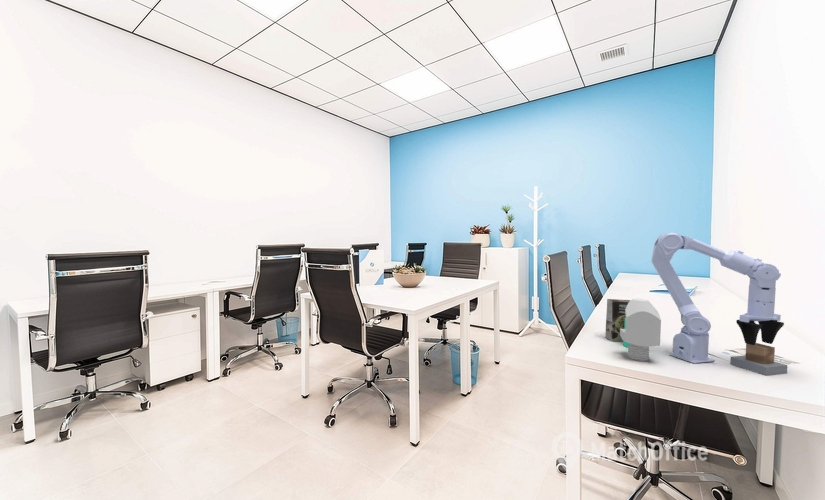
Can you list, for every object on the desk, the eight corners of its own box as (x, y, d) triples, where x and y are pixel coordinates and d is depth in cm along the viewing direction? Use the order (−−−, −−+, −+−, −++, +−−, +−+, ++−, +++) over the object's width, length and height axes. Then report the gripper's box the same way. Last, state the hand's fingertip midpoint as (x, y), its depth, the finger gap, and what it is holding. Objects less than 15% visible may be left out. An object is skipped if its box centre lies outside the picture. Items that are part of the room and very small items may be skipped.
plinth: (766, 375, 96) (766, 367, 96) (730, 364, 105) (730, 356, 105) (787, 373, 98) (787, 365, 98) (750, 362, 107) (750, 354, 107)
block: (763, 364, 98) (764, 348, 98) (745, 359, 103) (746, 343, 103) (774, 363, 99) (774, 347, 99) (755, 358, 104) (756, 342, 104)
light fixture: (650, 355, 112) (652, 298, 111) (659, 365, 103) (661, 303, 102) (619, 351, 115) (621, 296, 115) (625, 360, 107) (627, 301, 106)
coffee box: (611, 341, 127) (613, 301, 126) (604, 336, 133) (606, 298, 133) (637, 343, 125) (638, 302, 125) (628, 338, 132) (630, 299, 131)
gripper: (761, 304, 95) (758, 349, 96) (794, 303, 98) (792, 346, 99) (732, 299, 102) (730, 341, 102) (765, 298, 105) (762, 339, 106)
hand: (758, 343), depth 101 cm, fingers open, 7 cm apart
